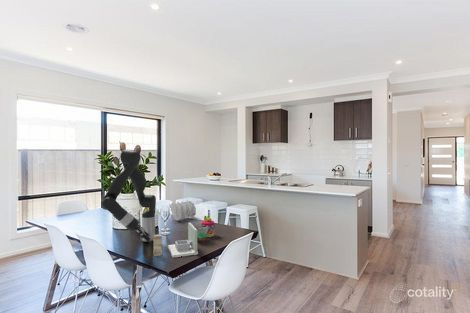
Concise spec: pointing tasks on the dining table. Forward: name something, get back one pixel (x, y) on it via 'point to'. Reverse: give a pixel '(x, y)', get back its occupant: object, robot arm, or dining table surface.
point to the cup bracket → (185, 244)
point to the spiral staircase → (183, 210)
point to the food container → (202, 234)
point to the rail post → (157, 245)
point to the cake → (210, 225)
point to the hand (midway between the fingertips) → (148, 238)
